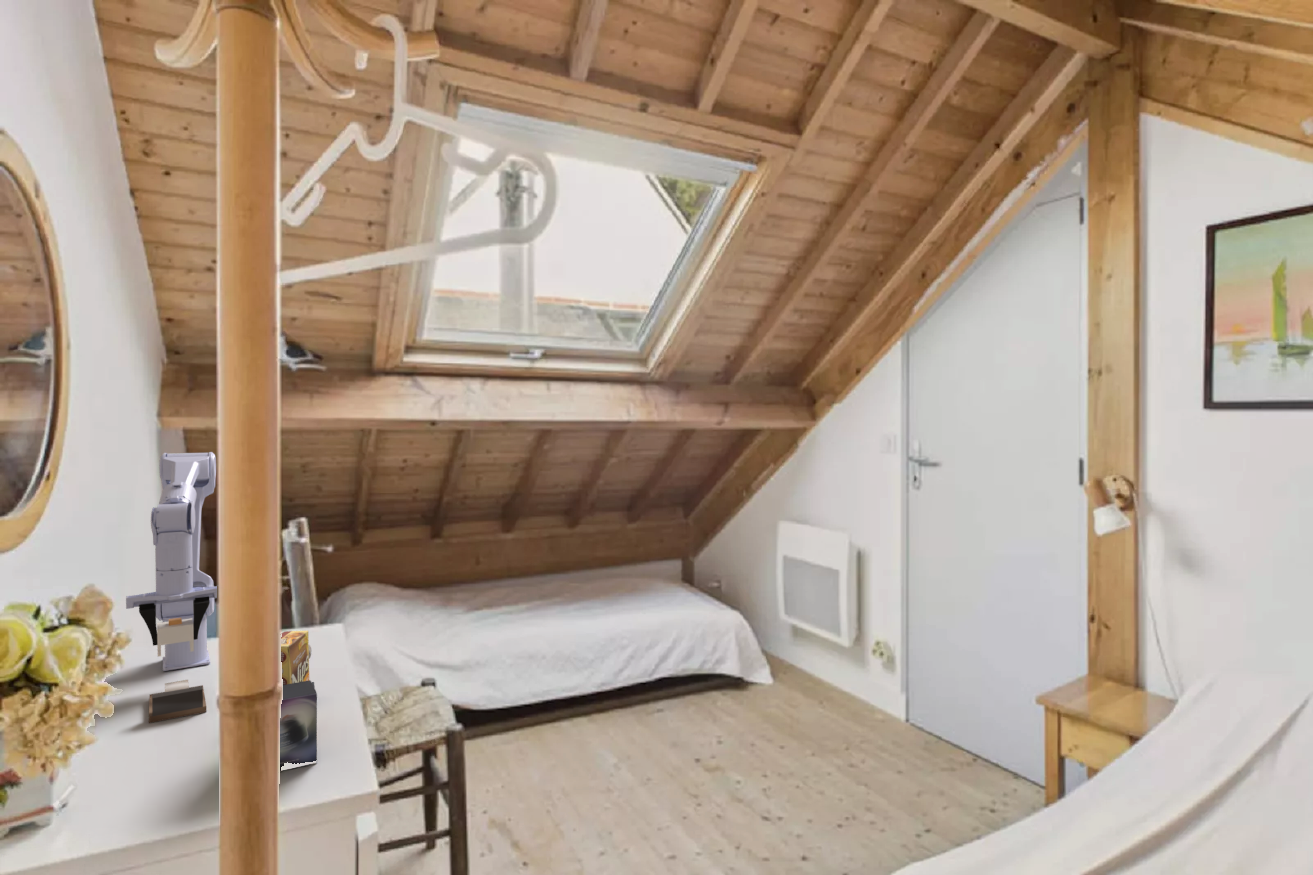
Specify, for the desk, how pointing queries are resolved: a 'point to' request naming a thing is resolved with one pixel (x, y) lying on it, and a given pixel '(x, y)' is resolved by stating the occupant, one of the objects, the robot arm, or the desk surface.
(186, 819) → the desk surface
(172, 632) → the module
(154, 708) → the board
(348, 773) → the desk surface
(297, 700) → the small box
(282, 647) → the candy box
